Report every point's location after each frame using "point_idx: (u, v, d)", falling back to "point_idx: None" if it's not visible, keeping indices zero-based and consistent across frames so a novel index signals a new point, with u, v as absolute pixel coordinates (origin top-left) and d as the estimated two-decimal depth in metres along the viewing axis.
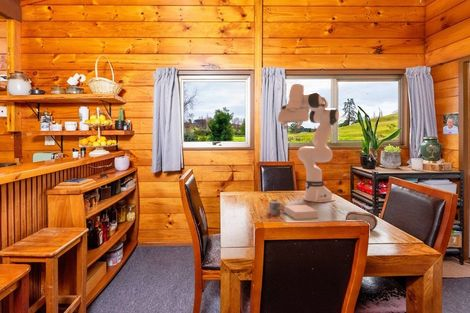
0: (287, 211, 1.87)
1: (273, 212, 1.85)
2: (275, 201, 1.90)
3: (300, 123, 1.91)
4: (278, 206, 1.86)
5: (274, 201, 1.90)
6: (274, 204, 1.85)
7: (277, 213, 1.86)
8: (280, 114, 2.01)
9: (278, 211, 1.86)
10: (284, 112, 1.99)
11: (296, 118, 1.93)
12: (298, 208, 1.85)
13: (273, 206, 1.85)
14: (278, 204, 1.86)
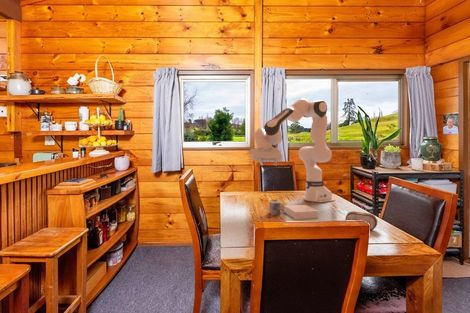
0: (287, 211, 1.87)
1: (273, 212, 1.85)
2: (275, 201, 1.90)
3: (259, 162, 1.98)
4: (278, 206, 1.86)
5: (274, 201, 1.90)
6: (274, 204, 1.85)
7: (277, 213, 1.86)
8: None
9: (278, 211, 1.86)
10: None
11: None
12: (298, 208, 1.85)
13: (273, 206, 1.85)
14: (278, 204, 1.86)
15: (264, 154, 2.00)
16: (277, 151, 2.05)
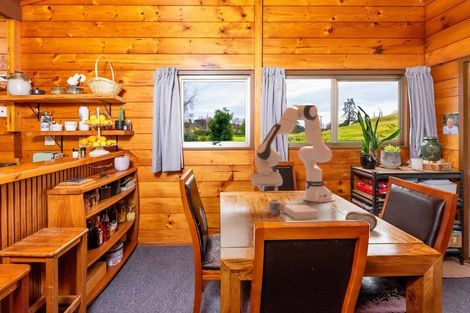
0: (287, 211, 1.87)
1: (273, 212, 1.85)
2: (275, 201, 1.90)
3: (259, 188, 1.97)
4: (278, 206, 1.86)
5: (274, 201, 1.90)
6: (274, 204, 1.85)
7: (277, 213, 1.86)
8: None
9: (278, 211, 1.86)
10: None
11: None
12: (298, 208, 1.85)
13: (273, 206, 1.85)
14: (278, 204, 1.86)
15: (264, 179, 1.99)
16: (277, 175, 2.03)
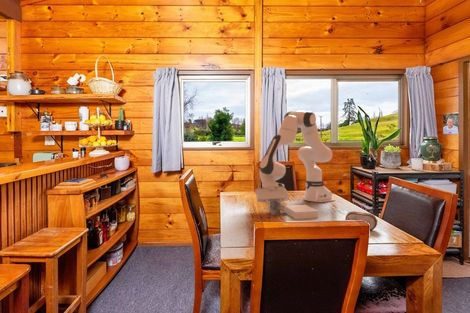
0: (287, 211, 1.87)
1: (273, 212, 1.85)
2: (275, 201, 1.90)
3: (266, 203, 1.88)
4: (278, 206, 1.86)
5: (274, 201, 1.90)
6: (274, 204, 1.85)
7: (277, 213, 1.86)
8: None
9: (278, 211, 1.86)
10: None
11: None
12: (298, 208, 1.85)
13: (273, 206, 1.85)
14: (278, 204, 1.86)
15: (270, 195, 1.90)
16: (283, 190, 1.94)
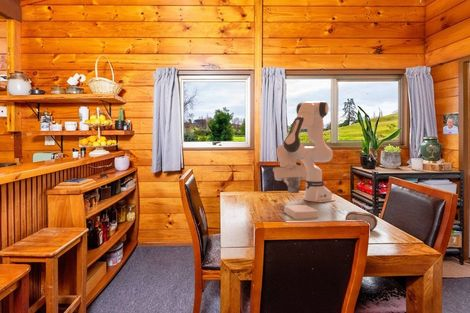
0: (287, 211, 1.87)
1: (292, 190, 1.83)
2: None
3: (285, 182, 1.86)
4: (297, 184, 1.83)
5: None
6: (293, 182, 1.83)
7: (296, 191, 1.83)
8: None
9: (297, 189, 1.83)
10: None
11: None
12: (298, 208, 1.85)
13: (292, 184, 1.83)
14: (297, 182, 1.83)
15: (288, 173, 1.88)
16: (302, 169, 1.91)
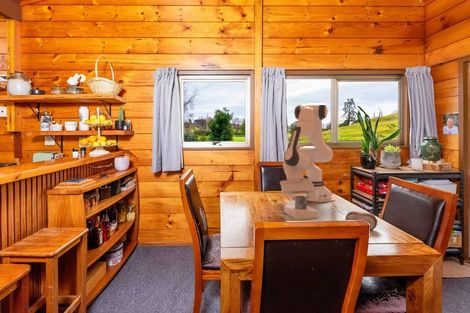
0: (287, 211, 1.87)
1: (299, 206, 1.82)
2: None
3: (290, 196, 1.85)
4: (304, 200, 1.83)
5: None
6: (300, 198, 1.82)
7: (303, 207, 1.83)
8: None
9: (304, 205, 1.83)
10: None
11: None
12: None
13: (300, 200, 1.82)
14: (304, 198, 1.83)
15: (295, 187, 1.87)
16: (309, 182, 1.91)
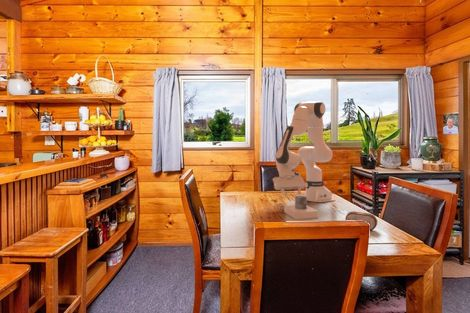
0: (287, 211, 1.87)
1: (299, 206, 1.82)
2: None
3: (282, 191, 1.98)
4: (304, 200, 1.83)
5: None
6: (300, 198, 1.82)
7: (303, 207, 1.83)
8: None
9: (304, 205, 1.83)
10: None
11: None
12: None
13: (300, 200, 1.82)
14: (304, 198, 1.83)
15: (287, 183, 2.00)
16: (300, 179, 2.04)
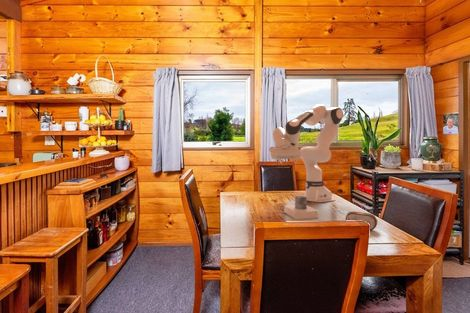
0: (287, 211, 1.87)
1: (299, 206, 1.82)
2: None
3: (278, 160, 2.03)
4: (304, 200, 1.83)
5: None
6: (300, 198, 1.82)
7: (303, 207, 1.83)
8: None
9: (304, 205, 1.83)
10: None
11: None
12: None
13: (300, 200, 1.82)
14: (304, 198, 1.83)
15: (283, 152, 2.05)
16: (296, 149, 2.09)
